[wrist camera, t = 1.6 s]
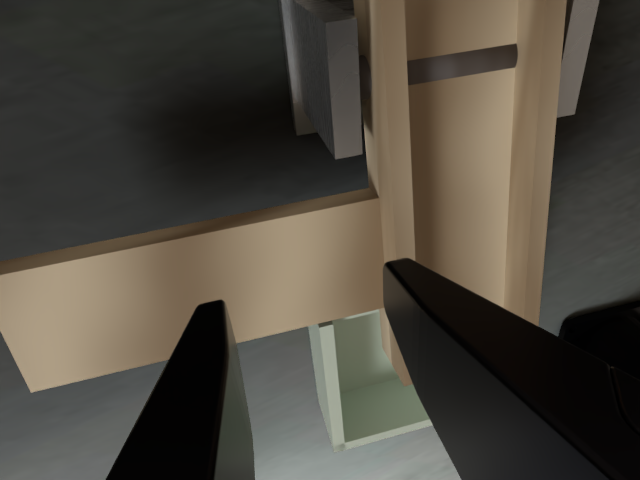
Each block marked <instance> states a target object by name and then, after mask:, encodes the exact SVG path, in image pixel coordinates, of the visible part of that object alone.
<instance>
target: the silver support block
mask: <svg viewBox="0 0 640 480" xmlns="http://www.w3.org/2000/svg"><path fill="white" fill-rule="evenodd" d="M278 3H279V11H280V20H281V28H282V36H283V44H284V52H285V61H286V69H287V77H288V85H289V93H290V102H291V110H292V118H293V126H294V131H295V133H296V135H297V136H299V135H304V134H310V133H315V132H318V134H319V135H320V137H321V138H322V140H323V141H324V143H325V144H326V146H327V147H328V149H329V150H330V152H331V153H332V155H333V156H334V158H335V159H340V158H345V157H351V156H356V155H361V154H362V130H361V124H364V121H363V110H362V100H360V80H359V54H358V29H357V18H356V17H355V14H354V2H353V0H278ZM598 4H599V0H567V3H566V15H565V26H564V37H563V49H562V60H561V72H560V83H559V95H558V106H557V118H558V117H563V116H568V115H574V114H575V110H576V106H577V101H578V96H579V92H580V87H581V83H582V78H583V73H584V69H585V64H586V60H587V55H588V50H589V46H590V41H591V37H592V32H593V27H594V23H595V18H596V14H597V9H598Z"/></svg>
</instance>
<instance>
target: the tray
mask: <svg viewBox="0 0 640 480" xmlns="http://www.w3.org/2000/svg"><path fill="white" fill-rule="evenodd" d="M308 330H309V337H310V344H311V351H312V359H313V366H314V373H315V380H316V388H317V395H318V400H319V404H320V407H321V410H322V414H323V417H324V420H325V424H326V427H327V430H328V434H329V437H330V441H331V444H332V447H333V451H334V453H336V452H339V451H343V450H346V449H350V448H354V447H357V446H361V445H364V444H368V443H371V442H375V441H378V440H382V439H385V438H389V437H393V436H396V435H400V434H403V433H407V432H410V431H414V430H417V429H421V428H424V427H428V426H431V425H433V424H432V422H431V421H430V419H429V417H428V415H427V413H426V411H425V409H424V407H423V405H422V403H421V401H420V399H419V397H418V395H417V393H416V390H415V388H414V385H413V384H412V385H408V386H404V385H403V383H402V382H401V380H400V378H399V376H398V375H397V373H396V371H395V369H394V368H393V366H392V364H391V362H390V360H389V359H388V357H387V355H386V353H385V352H384V350H383V348H382V337H381V325H380V313H379V309H377V310H373V311H369V312H365V313H361V314H357V315H352V316H348V317H344V318H340V319H336V320H332V321H327V322H323V323H319V324H315V325H311V326H308Z"/></svg>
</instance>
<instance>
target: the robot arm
mask: <svg viewBox="0 0 640 480" xmlns="http://www.w3.org/2000/svg"><path fill="white" fill-rule="evenodd" d="M383 303H384V309H385V312H386V315H387V318H388V321H389V323H390V326H391V328H392V331H393V334H394V336H395V339H396V341H397V344H398V347H399V349H400V352H401V355H402V357H403V360H404V362H405V365H406V368H407V370H408V373H409V375H410V378H411V381H412V383H413V385H414V388H415V390H416V393H417V395H418V397H419V399H420V401H421V403H422V405H423V407H424V409H425V411H426V413H427V415H428V417H429V419H430V421H431V422H432V424H433V426H434V428H435V430H436V432H437V434H438V436H439V438H440V440H441V441H442V443H443V445H444V447H445V449H446V451H447V453H448V455H449V457H450V459H451V460H452V462H453V464H454V466H455V468H456V470H457V472H458V474H459V476H460V478H461V479H462V480H640V301H639V302H635V303H631V304H627V305H624V306H620V307H616V308H612V309H608V310H604V311H600V312H597V313H593V314H589V315H585V316H581V317H577V318H573V319H570V320H567V321H566V322H564V323H563V324H562V326H561V329H560V333H559V336H558V337H557V336H555V335H553V334H552V333H550V332H548V331H546V330H544V329H542V328H540V327H538V326H536V325H535V324H533V323H531V322H529V321H527V320H525V319H523V318H521V317H520V316H518V315H516V314H514V313H512V312H510V311H508V310H506V309H504V308H503V307H501V306H499V305H497V304H495V303H493V302H491V301H489V300H488V299H486V298H484V297H482V296H480V295H478V294H476V293H474V292H472V291H471V290H469V289H467V288H465V287H463V286H461V285H459V284H457V283H456V282H454V281H452V280H450V279H448V278H446V277H444V276H442V275H440V274H439V273H437V272H435V271H433V270H431V269H429V268H427V267H425V266H424V265H422V264H420V263H418V262H416V261H414V260H412V259H410V258H401V259H397V260H392V261H388V262H386V263H385V264H384V266H383ZM106 480H255V471H254V451H253V439H252V431H251V424H250V418H249V412H248V407H247V401H246V395H245V390H244V384H243V378H242V373H241V367H240V361H239V356H238V350H237V345H236V340H235V336H234V332H233V329H232V325H231V321H230V317H229V313H228V309H227V306H226V303H225V301H224V300H222V299H219V300H215V301H211V302H206V303H202V304H199V305H198V306H197V307H196V309H195V311H194V312H193V314H192V316H191V318H190V320H189V322H188V324H187V326H186V328H185V330H184V331H183V333H182V335H181V337H180V339H179V341H178V343H177V345H176V347H175V349H174V351H173V352H172V354H171V356H170V358H169V360H168V362H167V364H166V366H165V368H164V370H163V371H162V373H161V375H160V377H159V379H158V381H157V383H156V385H155V387H154V389H153V391H152V392H151V394H150V396H149V398H148V400H147V402H146V404H145V406H144V408H143V410H142V411H141V413H140V415H139V417H138V419H137V421H136V423H135V425H134V427H133V429H132V430H131V432H130V434H129V436H128V438H127V440H126V442H125V444H124V446H123V448H122V450H121V451H120V453H119V455H118V457H117V459H116V461H115V463H114V465H113V467H112V469H111V470H110V472H109V474H108V476H107V478H106Z"/></svg>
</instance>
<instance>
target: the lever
mask: <svg viewBox="0 0 640 480" xmlns="http://www.w3.org/2000/svg"><path fill="white" fill-rule="evenodd" d="M353 2H354V14H355V17H356V18H357V29H358V54H359V80H360V100H362V110H363V121H364V133H365V145H366V157H367V169H368V181H369V188H366V189H361V190H356V191H351V192H346V193H341V194H336V195H331V196H326V197H321V198H316V199H311V200H306V201H301V202H296V203H291V204H286V205H281V206H276V207H271V208H266V209H261V210H256V211H251V212H246V213H241V214H236V215H231V216H226V217H221V218H216V219H211V220H206V221H201V222H196V223H191V224H186V225H181V226H176V227H171V228H166V229H161V230H156V231H151V232H146V233H141V234H136V235H131V236H126V237H121V238H116V239H111V240H106V241H101V242H96V243H91V244H86V245H81V246H76V247H71V248H66V249H61V250H56V251H51V252H46V253H41V254H36V255H31V256H25V257H20V258H15V259H10V260H5V261H0V331H1V333H2V335H3V337H4V339H5V341H6V343H7V345H8V347H9V349H10V351H11V353H12V355H13V357H14V359H15V361H16V363H17V365H18V367H19V369H20V371H21V373H22V375H23V377H24V379H25V381H26V383H27V385H28V387H29V389H30V391H31V392H35V391H40V390H44V389H48V388H52V387H56V386H60V385H65V384H69V383H73V382H77V381H81V380H85V379H90V378H94V377H98V376H102V375H106V374H111V373H115V372H119V371H123V370H127V369H131V368H136V367H140V366H144V365H148V364H152V363H156V362H161V361H165V360H169V358H170V356H171V354H172V352H173V351H174V349H175V347H176V345H177V343H178V341H179V339H180V337H181V335H182V333H183V331H184V330H185V328H186V326H187V324H188V322H189V320H190V318H191V316H192V314H193V312H194V311H195V309H196V307H197V306H198V305H199V304H202V303H206V302H211V301H215V300H219V299H222V300H224V301H225V303H226V306H227V309H228V313H229V317H230V321H231V325H232V329H233V332H234V336H235V340H236V343H240V342H244V341H248V340H252V339H257V338H261V337H265V336H269V335H273V334H277V333H282V332H286V331H290V330H294V329H298V328H302V327H307V326H311V325H315V324H319V323H323V322H327V321H332V320H336V319H340V318H344V317H348V316H352V315H357V314H361V313H365V312H369V311H373V310H377V309H379V313H380V325H381V337H382V348H383V350H384V352H385V353H386V355H387V357H388V359H389V360H390V362H391V364H392V366H393V368H394V369H395V371H396V373H397V375H398V376H399V378H400V380H401V382H402V383H403V385H404V386H408V385H412V384H413V383H412V381H411V378H410V375H409V373H408V370H407V368H406V365H405V362H404V360H403V357H402V355H401V352H400V349H399V347H398V344H397V341H396V339H395V336H394V334H393V331H392V328H391V326H390V323H389V321H388V318H387V315H386V312H385V309H384V303H383V266H384V264H385V263H386V262H388V261H392V260H397V259H401V258H410V259H412V260H414V261H416V262H418V263H420V264H422V265H424V266H425V267H427V268H429V269H431V270H433V271H435V272H437V273H439V274H440V275H442V276H444V277H446V278H448V279H450V280H452V281H454V282H456V283H457V284H459V285H461V286H463V287H465V288H467V289H469V290H471V291H472V292H474V293H476V294H478V295H480V296H482V297H484V298H486V299H488V300H489V301H491V302H493V303H495V304H497V305H499V306H501V307H503V308H504V309H506V310H508V311H510V312H512V313H514V314H516V315H518V316H520V317H521V318H523V319H525V320H527V321H529V322H531V323H533V324H535V325H536V326H538V324H539V313H540V301H541V290H542V278H543V267H544V255H545V244H546V232H547V221H548V210H549V198H550V187H551V175H552V164H553V152H554V141H555V129H556V118H557V106H558V95H559V83H560V72H561V60H562V49H563V37H564V26H565V15H566V3H567V0H353Z"/></svg>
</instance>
